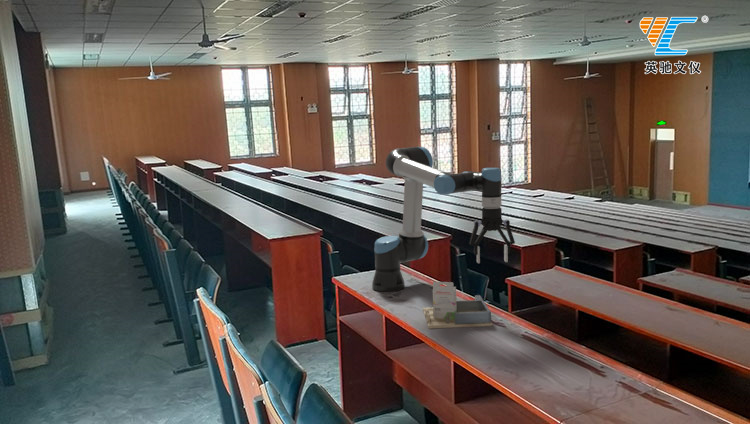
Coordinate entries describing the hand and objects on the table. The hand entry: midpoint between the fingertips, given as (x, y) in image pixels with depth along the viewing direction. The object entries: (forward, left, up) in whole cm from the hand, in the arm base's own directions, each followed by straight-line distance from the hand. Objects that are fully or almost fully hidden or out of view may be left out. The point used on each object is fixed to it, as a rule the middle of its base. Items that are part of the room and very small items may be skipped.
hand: (492, 261), depth 234 cm
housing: (+7, -11, -19) cm, 23 cm away
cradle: (+7, -16, -20) cm, 26 cm away
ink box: (+9, -20, -19) cm, 29 cm away
